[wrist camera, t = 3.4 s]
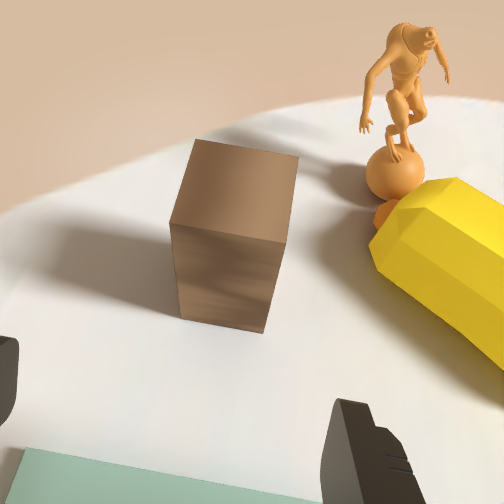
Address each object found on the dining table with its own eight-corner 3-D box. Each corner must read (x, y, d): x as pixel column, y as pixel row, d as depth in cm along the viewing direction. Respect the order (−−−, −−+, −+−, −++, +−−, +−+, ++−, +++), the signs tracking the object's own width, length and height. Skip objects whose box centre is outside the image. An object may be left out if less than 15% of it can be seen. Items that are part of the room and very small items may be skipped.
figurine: (367, 236, 33) (439, 97, 22) (307, 181, 35) (348, 32, 25) (441, 182, 36) (533, 38, 26) (382, 135, 38) (446, -15, 28)
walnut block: (274, 263, 31) (298, 156, 22) (263, 333, 28) (286, 243, 20) (199, 249, 31) (195, 138, 23) (181, 318, 28) (169, 222, 20)
